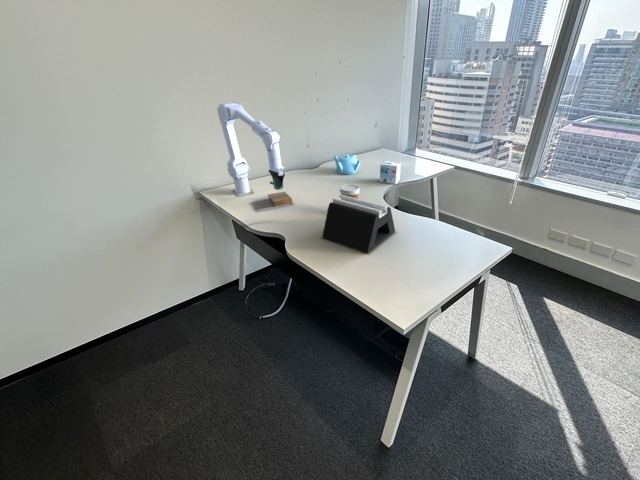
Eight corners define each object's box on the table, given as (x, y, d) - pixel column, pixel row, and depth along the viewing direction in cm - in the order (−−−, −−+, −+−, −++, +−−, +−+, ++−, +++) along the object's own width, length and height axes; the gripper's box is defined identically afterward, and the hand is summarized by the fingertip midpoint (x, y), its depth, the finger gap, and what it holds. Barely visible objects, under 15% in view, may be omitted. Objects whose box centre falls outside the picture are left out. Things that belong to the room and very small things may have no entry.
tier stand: (251, 203, 167) (250, 197, 165) (285, 197, 175) (284, 191, 173) (257, 211, 159) (255, 205, 157) (292, 204, 167) (291, 198, 165)
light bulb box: (379, 181, 197) (380, 163, 191) (383, 178, 202) (383, 160, 196) (396, 184, 194) (397, 166, 188) (399, 180, 199) (400, 163, 193)
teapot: (361, 175, 207) (361, 157, 201) (337, 176, 204) (337, 158, 198) (356, 167, 219) (356, 151, 213) (334, 168, 216) (333, 152, 210)
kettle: (281, 185, 168) (280, 175, 165) (284, 188, 164) (283, 178, 161) (269, 187, 165) (267, 177, 162) (272, 191, 162) (270, 180, 158)
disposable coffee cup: (362, 209, 164) (362, 185, 157) (355, 216, 156) (355, 192, 149) (344, 206, 166) (344, 183, 159) (337, 213, 159) (336, 189, 152)
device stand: (367, 253, 128) (368, 218, 120) (322, 238, 138) (320, 205, 129) (394, 231, 144) (397, 199, 135) (352, 219, 154) (352, 188, 145)
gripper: (287, 160, 153) (291, 188, 161) (277, 153, 163) (281, 180, 171) (272, 162, 150) (276, 191, 158) (263, 155, 160) (268, 182, 168)
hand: (278, 185), depth 164 cm, fingers closed on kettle, 5 cm apart
